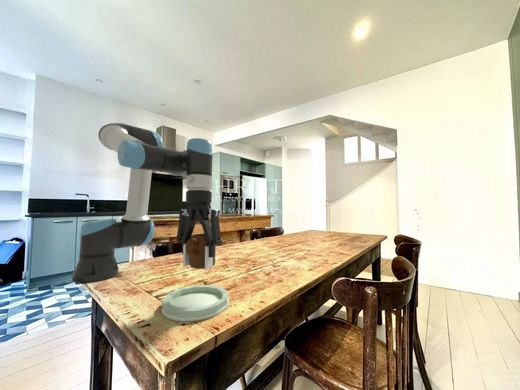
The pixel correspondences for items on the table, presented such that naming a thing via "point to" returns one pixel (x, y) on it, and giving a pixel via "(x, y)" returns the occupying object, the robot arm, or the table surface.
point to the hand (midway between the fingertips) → (197, 266)
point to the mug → (197, 251)
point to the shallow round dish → (195, 303)
